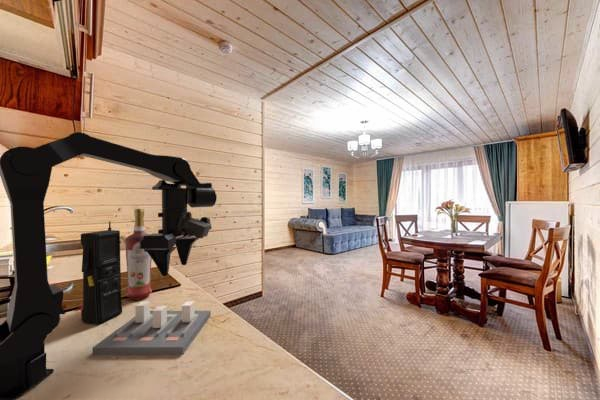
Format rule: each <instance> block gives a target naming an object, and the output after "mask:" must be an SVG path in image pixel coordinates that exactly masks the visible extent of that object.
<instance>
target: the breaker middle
mask: <svg viewBox="0 0 600 400" xmlns="http://www.w3.org/2000/svg"><path fill="white" fill-rule="evenodd" d="M152 311H153V328H162V327H163V326H164V325H165V324H166V323H167V311H168V306H167V305H157V306H156V307H155V308H153V309H152Z"/></svg>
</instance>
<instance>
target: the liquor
mask: <svg viewBox="0 0 600 400" xmlns="http://www.w3.org/2000/svg"><path fill="white" fill-rule="evenodd" d="M133 216H134V226H133V233H131V234H130V235H128V236H126V237H125V238H124V242H125V243H124V245H125V258H126V259H125V260H126V274H127V293H126V294H125V295H126V297H127V298H129V299H131V300H133V301H137V300H143V299H146V298H147V297H148V296H150V294H151V293H152V291H153V290H152V288H151V278H152V274H151V273H152V261H153V259H152V258H151V257H150V255H149V254H148V253H147V252H145V251H144V249H140V239H141V238H142V237H143V236H145V235H149V234H150V233H147V232H146V230H145V221H144V217H145V208H134V209H133ZM145 297H146V298H145Z"/></svg>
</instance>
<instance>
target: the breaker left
mask: <svg viewBox="0 0 600 400" xmlns="http://www.w3.org/2000/svg"><path fill="white" fill-rule="evenodd" d="M134 306H135V307H134V308H135V309H134V310H135V312H134V314H135V316H134V317H135V323H144V322H145V321H146V320H148V319H149V318H150V311H151V302H150V301H140V302H139V303H138V304H136V305H134Z"/></svg>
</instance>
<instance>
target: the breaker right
mask: <svg viewBox="0 0 600 400" xmlns="http://www.w3.org/2000/svg"><path fill="white" fill-rule="evenodd" d="M181 311H182V322H191V321H192V320H193V319H194V311H195V301H193V300H192V301H185V302H184V303H183V304H182V305H181Z"/></svg>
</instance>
